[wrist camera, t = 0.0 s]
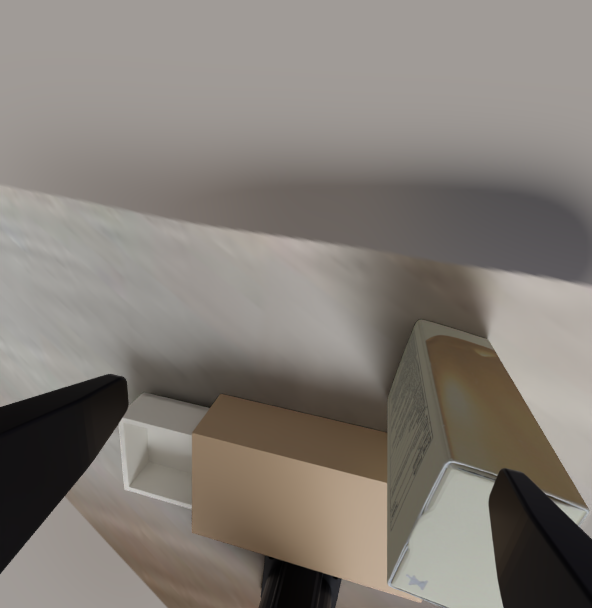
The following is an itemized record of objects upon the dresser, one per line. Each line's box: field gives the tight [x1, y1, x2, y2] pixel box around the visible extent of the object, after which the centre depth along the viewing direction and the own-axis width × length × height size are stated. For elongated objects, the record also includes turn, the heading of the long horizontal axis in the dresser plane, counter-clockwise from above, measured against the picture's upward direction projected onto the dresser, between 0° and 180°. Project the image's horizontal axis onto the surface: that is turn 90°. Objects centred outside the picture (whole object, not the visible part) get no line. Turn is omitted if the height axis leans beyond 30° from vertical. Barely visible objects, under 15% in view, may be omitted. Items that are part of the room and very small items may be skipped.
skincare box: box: [387, 319, 589, 608], centre depth 18 cm, size 6×4×12 cm
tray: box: [119, 392, 210, 509], centre depth 27 cm, size 7×16×3 cm, turn 84°
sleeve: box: [192, 394, 422, 603], centre depth 26 cm, size 9×16×4 cm, turn 84°
